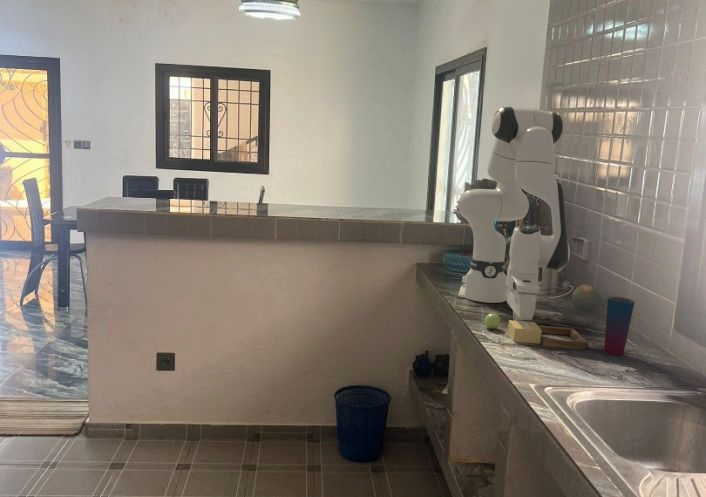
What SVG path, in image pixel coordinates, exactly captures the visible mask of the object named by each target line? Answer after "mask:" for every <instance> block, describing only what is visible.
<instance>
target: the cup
mask: <svg viewBox="0 0 706 497" xmlns="http://www.w3.org/2000/svg"><path fill="white" fill-rule="evenodd" d="M606 302H607V306H606V317H605V318H606V319H605V320H606V321H605V331H604V332H605V333H604V334H605V335H604V336H605V337H604V346H603V347H604V348H603V349H604V352H605V353H606V354H609V355H614V356H623V355H624V354H625V350H626V345H627V340H628V336H629V335H628V334H629V330H630V325H631V321H632V316H633V312H634V306H635V303H636V301H635V299H631V298H627V297H623V296H608V297H607V301H606Z"/></svg>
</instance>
